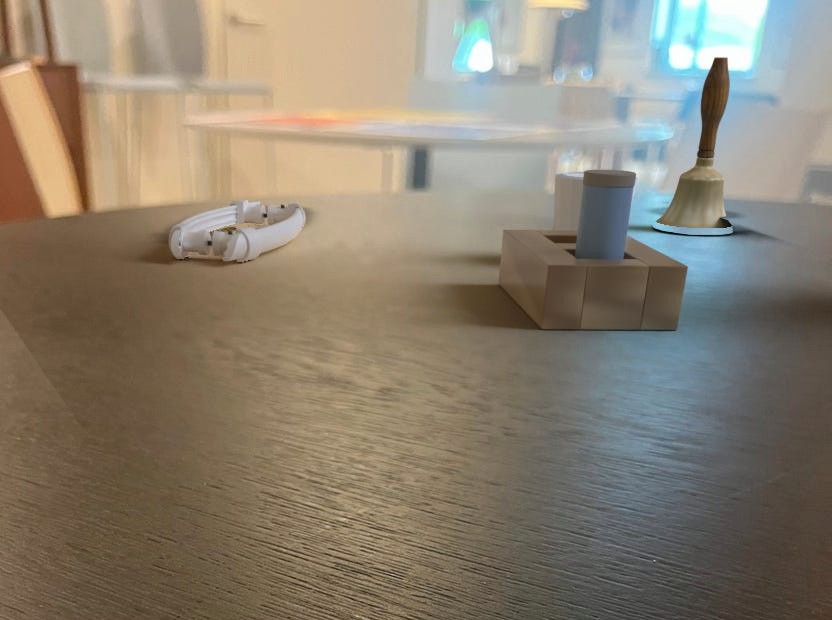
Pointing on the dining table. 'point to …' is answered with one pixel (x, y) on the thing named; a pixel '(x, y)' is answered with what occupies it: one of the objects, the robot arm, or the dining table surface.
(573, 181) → the white faceted cup
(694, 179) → the hand bell
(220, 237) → the white oval frame
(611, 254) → the cylindrical bottle
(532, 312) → the holder
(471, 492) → the dining table surface
